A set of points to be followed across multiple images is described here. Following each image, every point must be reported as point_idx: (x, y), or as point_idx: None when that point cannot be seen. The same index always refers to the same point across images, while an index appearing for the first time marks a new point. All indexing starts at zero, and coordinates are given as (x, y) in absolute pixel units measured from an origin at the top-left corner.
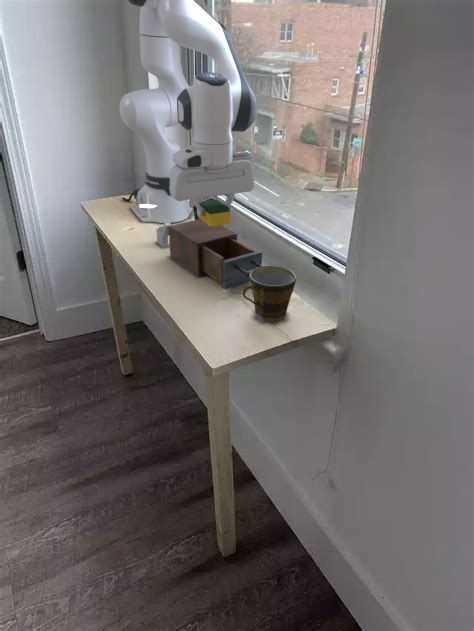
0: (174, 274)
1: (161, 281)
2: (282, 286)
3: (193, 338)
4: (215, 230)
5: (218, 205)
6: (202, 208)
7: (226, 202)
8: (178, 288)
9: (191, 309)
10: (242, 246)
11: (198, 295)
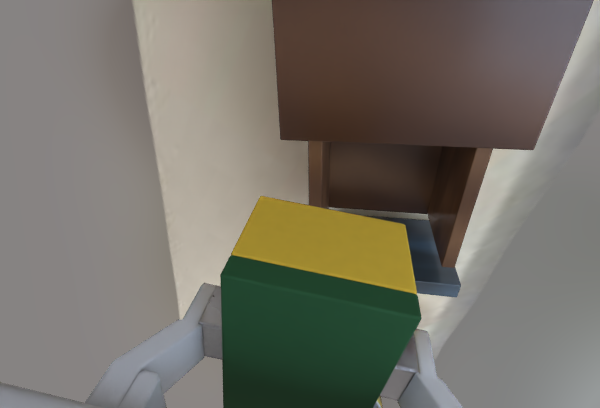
0: (243, 23)
1: (185, 50)
2: None
3: (180, 289)
4: (485, 30)
5: (322, 396)
6: (212, 347)
7: (417, 400)
8: (218, 125)
9: (210, 224)
10: (453, 221)
11: (251, 186)
